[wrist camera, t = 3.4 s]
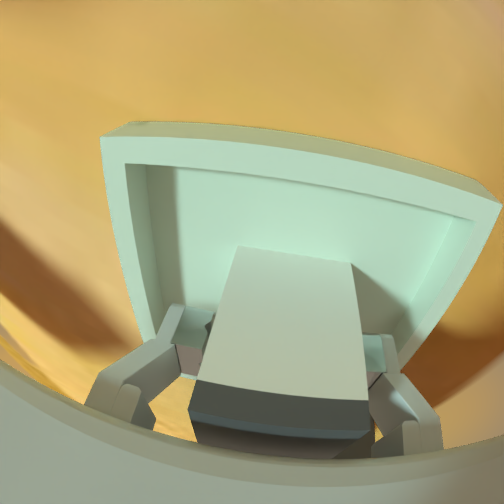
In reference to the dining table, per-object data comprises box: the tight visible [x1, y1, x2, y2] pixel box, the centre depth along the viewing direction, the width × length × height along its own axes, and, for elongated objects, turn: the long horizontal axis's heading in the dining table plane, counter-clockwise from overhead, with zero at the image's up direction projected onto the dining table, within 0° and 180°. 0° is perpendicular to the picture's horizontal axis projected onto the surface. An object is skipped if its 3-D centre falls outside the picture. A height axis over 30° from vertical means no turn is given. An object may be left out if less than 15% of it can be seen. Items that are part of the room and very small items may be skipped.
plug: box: [188, 245, 370, 459], centre depth 9 cm, size 4×4×6 cm
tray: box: [100, 122, 503, 380], centre depth 11 cm, size 12×12×2 cm
